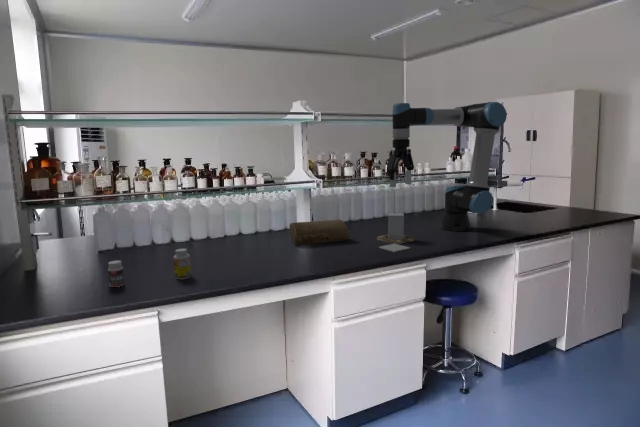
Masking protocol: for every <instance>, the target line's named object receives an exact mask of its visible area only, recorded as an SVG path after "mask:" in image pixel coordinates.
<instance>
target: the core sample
mask: <svg viewBox="0 0 640 427" xmlns="http://www.w3.org/2000/svg"><path fill="white" fill-rule="evenodd" d="M289 234H290V238H291V239H290V240H291V242H292V243H293V245H294V246H307V245H316V244H326V243H334V242H344V241H347V240H349V238H350V233H349V229H348V226H347V224H346V223H345V222H344V221H343V220H342V219H329V220H328V219H327V220H316V221H300V222H299V221H298V222H291V223H290V224H289Z"/></svg>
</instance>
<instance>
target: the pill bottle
mask: <svg viewBox="0 0 640 427" xmlns="http://www.w3.org/2000/svg"><path fill="white" fill-rule="evenodd" d="M107 264H108V269H107V276H108V285H109V286H108V287H109V288H111V287H118V288H121V287H120V286H122V287H123V285H124V286H125V275H124V266H122V261H121V260H120V259H119V260H112V261H109V262H108V263H107Z"/></svg>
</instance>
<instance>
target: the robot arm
mask: <svg viewBox="0 0 640 427" xmlns="http://www.w3.org/2000/svg"><path fill="white" fill-rule="evenodd" d="M391 114H392V132H391V133H392V138H393V139H392V148H394V149H391V150H390V156H389V159H388V163H387V167H386V173H388V174H389V188H396V187H397V172H396V170H397V169H398V165H399V163H400V161H402V162H403V164H404V167H405V173H404V174H405V176H404V177H405V179H404V183H405V185H412V171H414V169H415V165H414V161H413V160H414V159H413V157H412V149H410V148H409V147H411V146H410V139H409V138H410V137H411V136H410V135H411V134H410V129H411V128H410V127H411V126H412V127H413V126H438V125H439V126H440V125H441V126H442V125H454V126H455V127H466V128H467V127H468V128H473V131H474V132H475V138H474V139H475V140H474V146H473V147H474V148H473V153H472V159H471V165H470V166H471V167H470V172H469V180H468V182H467V183H465V184H464V185H450V186H446V187H445V191H444V215H443V217H442V219H441V223H440V229H442V230H445V231H450V232H451V231H452V232H465V231H470V230H471V228H472V226H471V221H470V218H469V215H468V213H472V214H478V215H479V214H480V215H483V214H486V213H487V212H488V211H489V210H490V209H491V208H492V206H493V203H494V196H493V194H492V193H491V192H490V188H491V187H490V186H489V184H488V180H489V174H490V168H491V162H492V155H493V148H494V142H495V135H496V134H498V133H499V131H500V127H501V126H503V125H504V124H505V123H506V121H507V117H508V116H507V110H506V108H505V107H504V105H503V104H502V103H501V102H498V101H488V102H480V103H473V104H470V105H463V106H456V107H454V108H441V109H440V108H439V109H436V108H435V109H432V108H429V107H411V104H410V103H409V102H399V103H394V104H393V105H392V113H391Z"/></svg>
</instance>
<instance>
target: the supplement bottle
mask: <svg viewBox="0 0 640 427" xmlns="http://www.w3.org/2000/svg"><path fill="white" fill-rule="evenodd" d="M174 251H175V255H173V266H174V278H175V279H177V280H186V279H190V278H191V277H192V266H191V256H190V254H189V253H188V248H178V249H176V250H174Z"/></svg>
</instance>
